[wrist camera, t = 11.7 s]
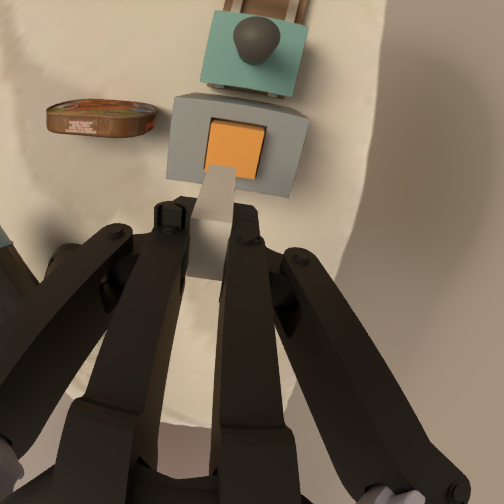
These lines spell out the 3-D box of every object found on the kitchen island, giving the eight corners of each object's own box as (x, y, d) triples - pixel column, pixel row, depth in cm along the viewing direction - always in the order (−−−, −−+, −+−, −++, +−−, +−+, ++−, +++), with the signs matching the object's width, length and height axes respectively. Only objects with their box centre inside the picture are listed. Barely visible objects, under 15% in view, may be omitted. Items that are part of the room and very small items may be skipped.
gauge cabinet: (186, 152, 33) (166, 179, 25) (195, 92, 28) (174, 97, 20) (281, 167, 34) (293, 199, 26) (296, 109, 30) (314, 120, 22)
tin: (166, 105, 29) (143, 114, 22) (162, 128, 31) (138, 143, 24) (70, 98, 27) (33, 108, 20) (68, 119, 29) (32, 133, 22)
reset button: (208, 162, 25) (204, 171, 23) (215, 118, 23) (211, 123, 21) (253, 169, 26) (254, 179, 24) (262, 126, 23) (264, 131, 21)
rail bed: (282, 98, 29) (285, 99, 27) (208, 86, 28) (205, 86, 26) (315, -42, 17) (320, -49, 15) (243, -56, 16) (243, -64, 14)
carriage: (286, 95, 27) (312, 104, 16) (205, 82, 26) (177, 82, 15) (301, 33, 22) (335, 4, 11) (219, 18, 21) (199, -20, 10)
